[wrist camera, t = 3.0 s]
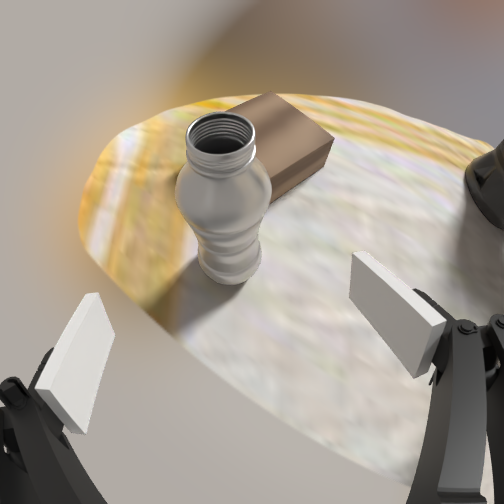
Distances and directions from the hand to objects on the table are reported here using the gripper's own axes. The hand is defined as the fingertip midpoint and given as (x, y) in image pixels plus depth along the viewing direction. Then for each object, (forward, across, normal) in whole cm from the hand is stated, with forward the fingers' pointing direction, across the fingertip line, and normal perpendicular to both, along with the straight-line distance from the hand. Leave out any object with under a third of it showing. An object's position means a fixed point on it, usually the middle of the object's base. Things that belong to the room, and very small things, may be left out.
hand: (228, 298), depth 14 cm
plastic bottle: (+18, +1, -6) cm, 19 cm away
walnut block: (+28, +8, +4) cm, 29 cm away
